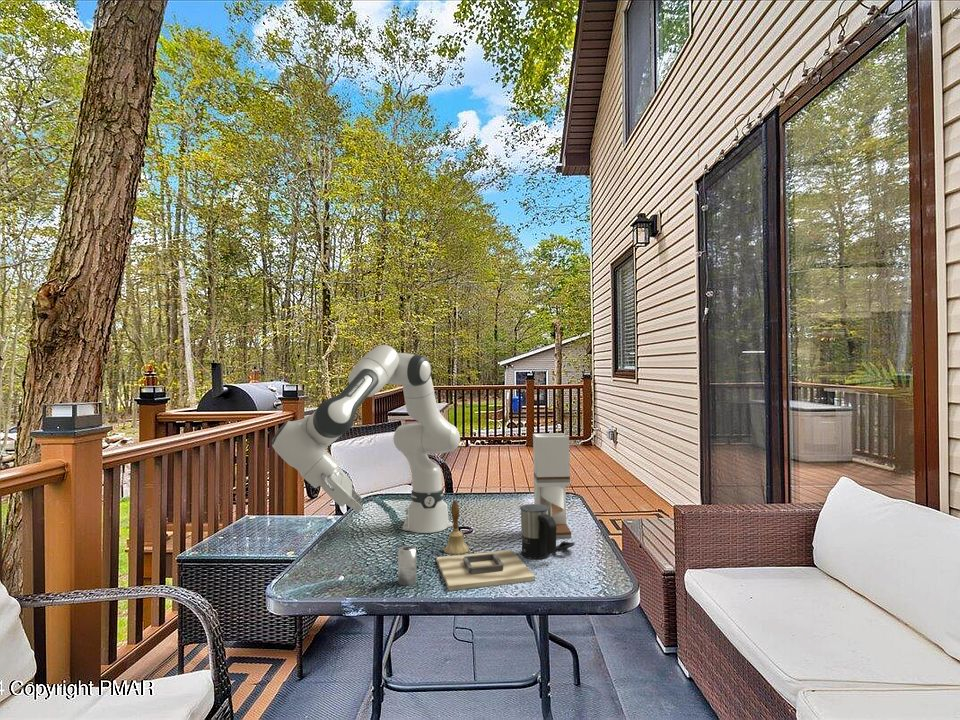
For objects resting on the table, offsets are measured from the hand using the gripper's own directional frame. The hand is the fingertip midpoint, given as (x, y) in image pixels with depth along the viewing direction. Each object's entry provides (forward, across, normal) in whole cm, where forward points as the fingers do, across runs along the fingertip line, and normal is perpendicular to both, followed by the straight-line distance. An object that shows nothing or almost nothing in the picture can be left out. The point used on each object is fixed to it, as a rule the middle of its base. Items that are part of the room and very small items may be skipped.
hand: (360, 505), depth 135 cm
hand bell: (+37, +21, -6) cm, 43 cm away
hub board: (+40, +2, -9) cm, 41 cm away
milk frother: (+56, +10, -26) cm, 62 cm away
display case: (+62, +28, -32) cm, 75 cm away
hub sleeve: (+24, 0, +6) cm, 25 cm away
